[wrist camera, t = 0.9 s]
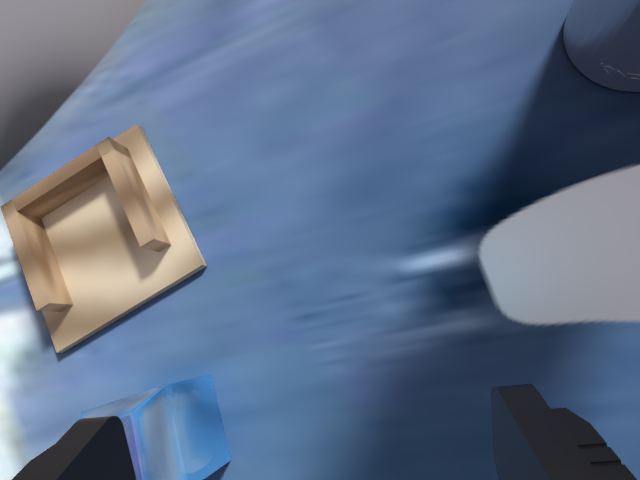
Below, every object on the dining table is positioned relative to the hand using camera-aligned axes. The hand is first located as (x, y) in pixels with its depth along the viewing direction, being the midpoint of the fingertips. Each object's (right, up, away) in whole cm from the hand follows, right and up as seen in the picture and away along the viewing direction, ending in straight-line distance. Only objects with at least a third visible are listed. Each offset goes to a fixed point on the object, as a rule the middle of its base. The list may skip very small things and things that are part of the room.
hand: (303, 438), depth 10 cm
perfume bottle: (-10, -10, +25) cm, 28 cm away
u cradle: (-18, +4, +29) cm, 34 cm away
